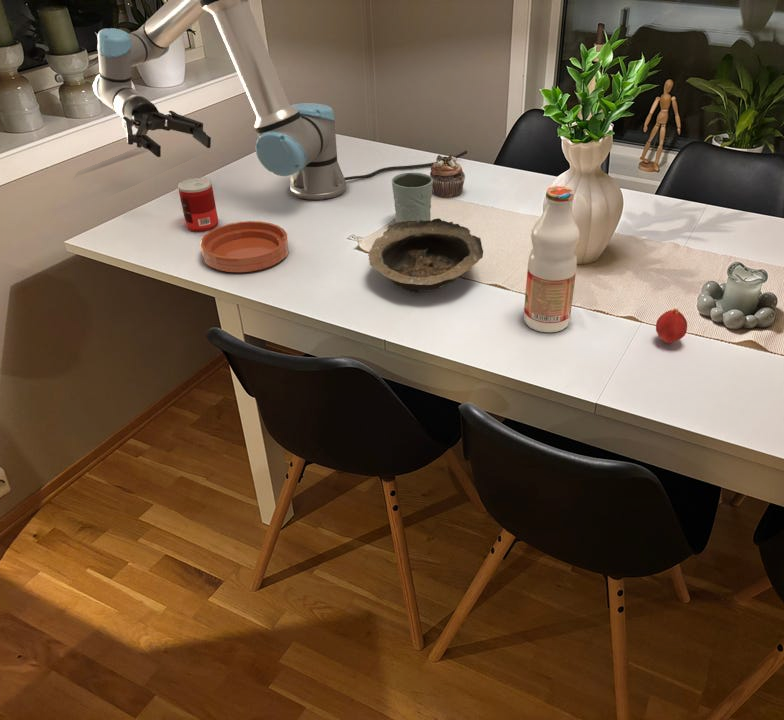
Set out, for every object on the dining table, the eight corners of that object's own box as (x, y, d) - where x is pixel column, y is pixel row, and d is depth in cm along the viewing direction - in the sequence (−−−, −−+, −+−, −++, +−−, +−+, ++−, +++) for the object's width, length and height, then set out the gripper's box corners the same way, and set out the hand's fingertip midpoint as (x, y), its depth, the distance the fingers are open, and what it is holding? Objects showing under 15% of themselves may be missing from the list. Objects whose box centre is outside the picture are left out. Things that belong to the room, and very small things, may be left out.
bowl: (287, 233, 180) (285, 218, 178) (290, 270, 165) (288, 254, 163) (206, 239, 177) (203, 224, 175) (201, 278, 161) (198, 262, 159)
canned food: (224, 221, 185) (217, 180, 179) (206, 234, 179) (198, 192, 173) (199, 217, 187) (190, 175, 181) (180, 229, 181) (170, 187, 175)
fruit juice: (542, 338, 144) (556, 205, 127) (514, 316, 150) (523, 187, 134) (579, 325, 148) (597, 194, 131) (550, 304, 154) (563, 177, 138)
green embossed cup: (401, 236, 180) (400, 189, 173) (387, 220, 187) (385, 175, 180) (439, 229, 183) (439, 183, 176) (423, 213, 191) (423, 169, 184)
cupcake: (434, 200, 198) (434, 164, 192) (427, 186, 205) (426, 152, 200) (468, 197, 200) (469, 161, 194) (460, 184, 207) (460, 149, 202)
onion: (648, 334, 145) (656, 300, 140) (677, 333, 146) (685, 299, 141) (658, 351, 140) (665, 316, 136) (687, 350, 141) (695, 315, 136)
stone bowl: (468, 247, 175) (470, 212, 169) (490, 307, 156) (493, 271, 150) (364, 252, 171) (363, 217, 165) (374, 315, 152) (373, 278, 146)
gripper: (180, 117, 196) (228, 153, 188) (89, 130, 179) (137, 170, 171) (181, 90, 192) (229, 125, 183) (87, 101, 175) (136, 140, 166)
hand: (185, 147), depth 177 cm, fingers open, 13 cm apart
